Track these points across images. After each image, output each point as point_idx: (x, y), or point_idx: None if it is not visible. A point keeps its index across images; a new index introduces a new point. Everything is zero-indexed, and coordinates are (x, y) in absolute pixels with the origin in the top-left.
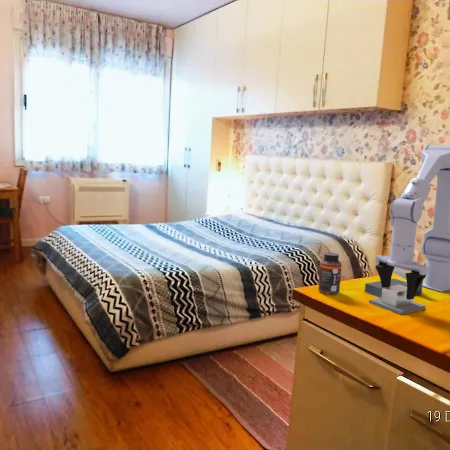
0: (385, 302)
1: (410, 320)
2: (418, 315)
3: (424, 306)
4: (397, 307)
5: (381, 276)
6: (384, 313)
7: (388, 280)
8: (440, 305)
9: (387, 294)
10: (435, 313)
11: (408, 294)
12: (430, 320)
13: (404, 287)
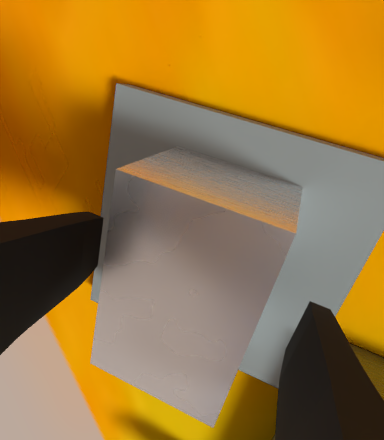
0: (260, 175)
1: (48, 24)
2: (69, 159)
3: (93, 292)
4: None
5: (369, 425)
6: (209, 3)
7: (289, 426)
8: (86, 373)
9: (234, 191)
10: None
11: (59, 217)
12: (5, 126)
13: (149, 365)
